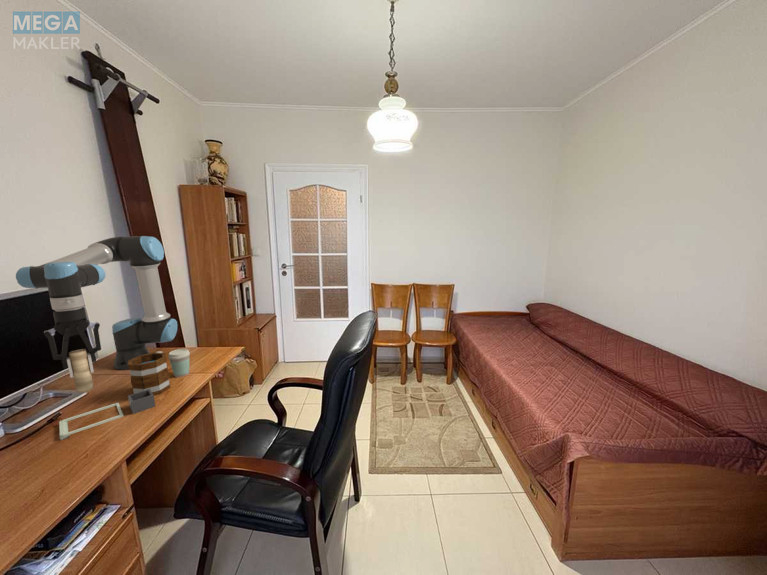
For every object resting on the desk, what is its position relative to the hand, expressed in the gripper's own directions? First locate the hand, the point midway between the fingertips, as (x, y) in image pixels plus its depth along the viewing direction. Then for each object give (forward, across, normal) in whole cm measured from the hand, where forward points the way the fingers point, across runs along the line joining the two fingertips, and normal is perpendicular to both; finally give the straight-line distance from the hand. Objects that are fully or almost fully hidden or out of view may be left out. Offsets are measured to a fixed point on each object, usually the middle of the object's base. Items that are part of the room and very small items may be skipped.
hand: (82, 373), depth 106 cm
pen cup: (+18, +14, -3) cm, 23 cm away
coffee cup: (+19, +32, +17) cm, 41 cm away
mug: (+19, +21, +12) cm, 31 cm away
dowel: (+6, 0, 0) cm, 6 cm away
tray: (+19, 0, 0) cm, 19 cm away
